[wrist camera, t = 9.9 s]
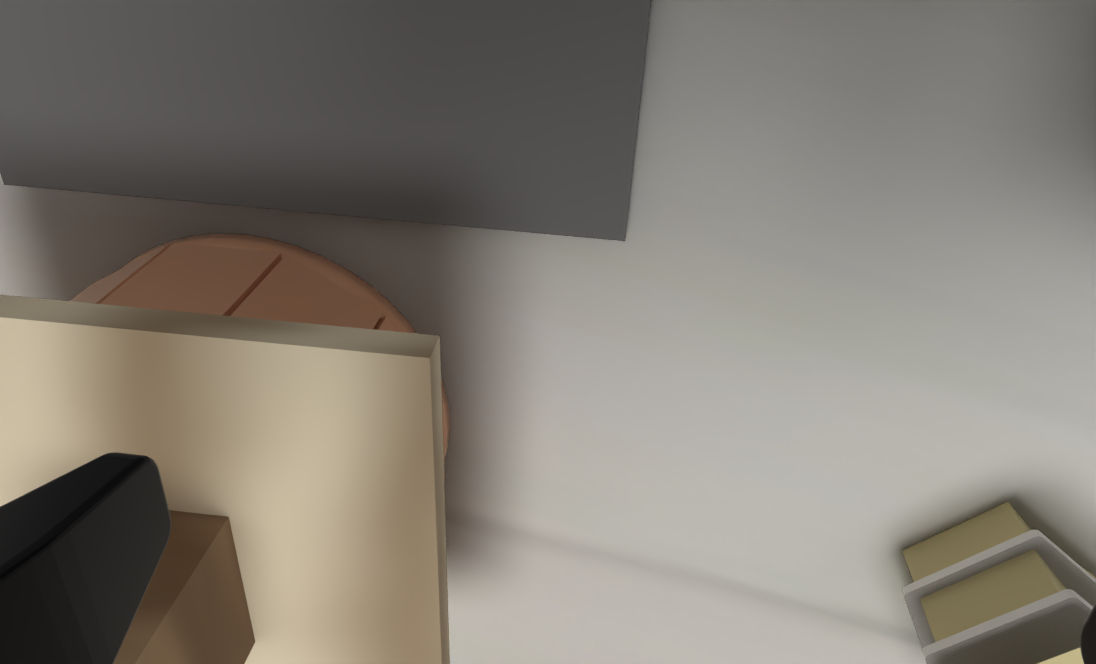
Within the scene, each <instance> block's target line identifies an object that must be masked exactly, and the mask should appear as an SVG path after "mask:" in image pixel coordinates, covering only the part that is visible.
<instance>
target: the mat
mask: <svg viewBox="0 0 1096 664" xmlns="http://www.w3.org/2000/svg"><path fill="white" fill-rule="evenodd" d="M650 6H651V0H0V173H1V176H2V179H3V182H4V185H15V186H26V187H37V188H48V189H59V190H70V191H81V192H92V193H103V194H114V195H125V196H136V197H147V198H158V199H169V200H180V201H191V202H202V203H213V204H224V205H235V206H246V207H257V208H268V209H279V210H290V211H301V212H312V213H323V214H334V215H345V216H356V217H367V218H378V219H389V220H400V221H410V222H421V223H432V224H443V225H454V226H465V227H476V228H487V229H498V230H509V231H520V232H531V233H542V234H553V235H564V236H575V237H586V238H597V239H608V240H619V241H625V238H626V228H627V219H628V210H629V201H630V191H631V182H632V173H633V164H634V154H635V145H636V136H637V127H638V117H639V108H640V99H641V90H642V80H643V71H644V62H645V53H646V43H647V34H648V25H649V16H650Z"/></svg>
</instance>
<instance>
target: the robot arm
mask: <svg viewBox="0 0 1096 664" xmlns="http://www.w3.org/2000/svg"><path fill="white" fill-rule="evenodd" d="M170 532H171V516H170V512H169V508H168V504H167V500H166V496H165V492H164V488H163V484H162V480H161V476H160V472H159V468H158V466H157V464H156V462H155V461H154V460H153V459H152V458H150V457H148V456H145V455H136V454H127V453H118V452H114V453H107V454H104V455H102V456H100V457H98V458H96V459H94V460H92V461H90V462H88V463H86V464H84V465H82V466H80V467H78V468H76V469H74V470H72V471H70V472H68V473H66V474H64V475H62V476H60V477H58V478H56V479H54V480H52V481H50V482H48V483H46V484H44V485H42V486H40V487H38V488H36V489H34V490H32V491H30V492H28V493H26V494H24V495H22V496H20V497H18V498H16V499H14V500H12V501H10V502H8V503H6V504H4V505H2V506H0V664H114V662H115V660H116V657H117V655H118V653H119V651H120V648H121V646H122V644H123V642H124V639H125V637H126V635H127V633H128V630H129V628H130V626H131V624H132V622H133V619H134V617H135V615H136V613H137V610H138V608H139V606H140V604H141V601H142V599H143V597H144V595H145V592H146V590H147V588H148V586H149V584H150V581H151V579H152V577H153V575H154V572H155V570H156V568H157V566H158V563H159V561H160V559H161V557H162V554H163V552H164V550H165V548H166V545H167V543H168V540H169V536H170ZM1080 649H1081V655H1082V659H1083V662H1084V664H1096V603H1095V605H1094V607H1093V609H1092V610H1091V612H1090V614H1089V616H1088V617H1087V619H1086V621H1085V622H1084V625H1083V627H1082V630H1081V635H1080Z"/></svg>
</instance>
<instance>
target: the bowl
mask: <svg viewBox="0 0 1096 664" xmlns="http://www.w3.org/2000/svg"><path fill="white" fill-rule="evenodd" d="M70 301H73V302H84V303H95V304H105V305H116V306H127V307H138V308H148V309H159V310H170V311H181V312H191V313H202V314H213V315H223V316H234V317H245V318H256V319H266V320H277V321H288V322H299V323H309V324H320V325H331V326H341V327H352V328H363V329H374V330H384V331H395V332H406V333H417V332H416V331H415V330H414V328H413V327H412V326H411V324H410V323H409V322H408V321H407V319H406V318H405V317H404V316H403V315H402V314H401V313H400V312H399V311H398V310H397V309H396V308H395V307H394V306H393V305H392V304H391V303H390V302H389V301H388V300H387V299H386V298H385V297H383V296H382V295H381V294H380V293H379V292H378V291H376V290H375V289H374V288H373V287H372V286H370V285H369V284H368V283H366V282H365V281H363V280H362V279H360V278H359V277H357V276H356V275H354V274H353V273H351V272H350V271H348V270H347V269H345V268H343V267H342V266H340V265H338V264H336V263H334V262H332V261H330V260H328V259H326V258H324V257H323V256H320V255H318V254H315V253H313V252H310V251H308V250H305V249H303V248H300V247H298V246H295V245H291V244H288V243H284V242H280V241H277V240H273V239H270V238H264V237H257V236H250V235H244V234H218V233H216V234H206V235H196V236H189V237H185V238H181V239H177V240H173V241H169V242H166V243H164V244H162V245H159V246H157V247H154V248H152V249H150V250H147V251H146V252H144V253H143V254H141V255H139V256H138V257H136V258H135V259H133V260H131V261H130V262H129V263H127V264H126V265H125V266H123V267H122V268H121V269H120V270H118V271H116V272H114V273H112V274H110V275H108V276H106V277H104V278H102V279H100V280H98V281H96V282H94V283H92V284H91V285H90V286H88V287H87V288H86V289H84V290H83V291H82V292H81V293H79V294H78V295H77V296H75V297H74V298H73V299H71V300H70ZM441 393H442V426H443V458H444V461H445V457H446V453H447V449H448V445H449V436H450V415H449V405H448V400H447V396H446V392H445V388H444V384H443V381H442V378H441ZM444 480H445V472H444Z"/></svg>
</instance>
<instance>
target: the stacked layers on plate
mask: <svg viewBox="0 0 1096 664" xmlns="http://www.w3.org/2000/svg"><path fill="white" fill-rule="evenodd" d="M903 554H904V557H905V559H906V562H907V565H908V568H909V570H910V573H911V576H912V579H913V581H914V582H913V583H911V584H908V585H906V586H904V587H903V588H902V593H903V596H904V598H905V601H906V604H907V607H908V609H909V612H910V615H911V618H912V620H913V623H914V626H915V629H916V631H917V634H918V637H919V640H920V642H921V645H922V648H923V650H922V651H923V654H924V657H925V660H926V663H927V664H1084V662H1083V659H1082V655H1081V649H1080V635H1081V630H1082V627H1083V625H1084V622H1085V621H1086V619H1087V617H1088V616H1089V614H1090V612H1091V610H1092V609H1093V607H1094V605H1095V603H1096V577H1095V576H1094V575H1093V574H1092V573H1091V572H1089V571H1088V570H1086V569H1083V568H1082V567H1081V566H1080V565H1079V564H1077V563H1076V562H1075V561H1074V560H1073V559H1072V558H1070V557H1069V556H1068V555H1067V554H1066V553H1065V552H1063V551H1062V550H1061V549H1060V548H1059V547H1058V546H1056V545H1055V544H1054V543H1053V542H1052V541H1050V540H1049V539H1048V538H1047V537H1046V536H1045V535H1043V534H1042V533H1041V532H1040V531H1039V530H1030V528H1029V527H1028V526H1027V525H1026V523H1025V522H1024V521H1023V520H1022V518H1021V517H1020V516H1019V515H1018V513H1017V512H1016V511H1015V510H1014V508H1013V507H1012V506H1011V505H1010V503H1009V502H1006V503H1004V504H1001V505H999V506H997V507H995V508H993V509H991V510H989V511H986V512H984V513H982V514H980V515H978V516H976V517H974V518H971V519H969V520H967V521H965V522H963V523H961V524H958V525H956V526H954V527H952V528H950V529H948V530H946V531H943V532H941V533H939V534H937V535H935V536H933V537H931V538H928V539H926V540H924V541H922V542H920V543H918V544H916V545H913V546H911V547H909V548H907V549H905V550H903Z"/></svg>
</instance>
